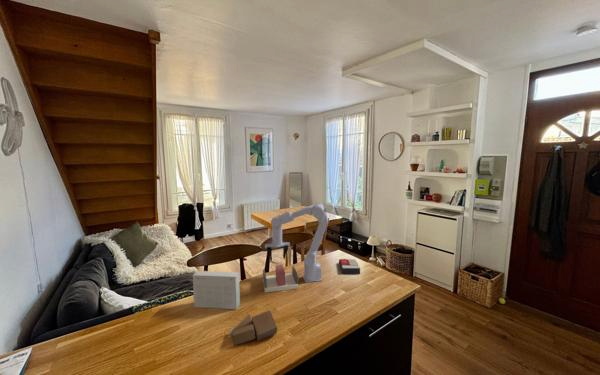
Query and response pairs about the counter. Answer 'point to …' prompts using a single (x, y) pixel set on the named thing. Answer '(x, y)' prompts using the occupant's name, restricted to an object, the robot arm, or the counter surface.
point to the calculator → (349, 266)
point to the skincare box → (216, 289)
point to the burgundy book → (280, 275)
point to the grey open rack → (290, 283)
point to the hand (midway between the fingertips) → (277, 258)
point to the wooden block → (254, 328)
